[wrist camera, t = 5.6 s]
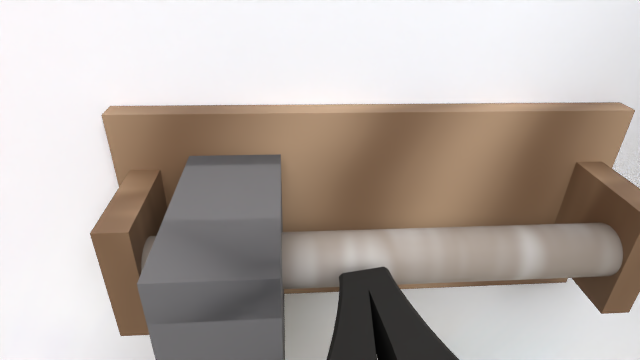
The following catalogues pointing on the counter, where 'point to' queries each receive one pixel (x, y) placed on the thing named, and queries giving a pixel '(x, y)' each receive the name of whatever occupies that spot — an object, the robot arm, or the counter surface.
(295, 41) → the counter surface
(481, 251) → the towel rail
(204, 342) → the collar
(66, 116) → the counter surface
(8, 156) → the counter surface
